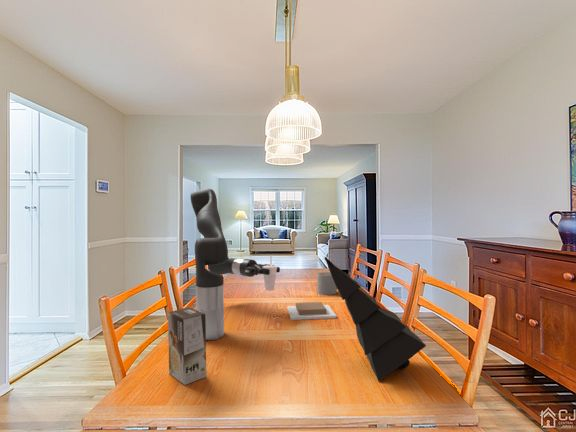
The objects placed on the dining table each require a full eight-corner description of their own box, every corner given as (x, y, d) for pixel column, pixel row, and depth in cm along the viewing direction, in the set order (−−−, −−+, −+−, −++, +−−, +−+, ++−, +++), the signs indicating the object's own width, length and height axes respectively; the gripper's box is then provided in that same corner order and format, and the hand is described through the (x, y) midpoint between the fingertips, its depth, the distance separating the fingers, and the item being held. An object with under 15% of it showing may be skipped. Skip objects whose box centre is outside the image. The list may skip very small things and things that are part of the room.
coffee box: (207, 376, 84) (207, 313, 84) (184, 386, 80) (183, 319, 80) (190, 365, 91) (189, 306, 91) (167, 373, 86) (166, 311, 86)
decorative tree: (374, 368, 95) (302, 268, 96) (417, 338, 94) (343, 238, 95) (388, 395, 80) (302, 278, 81) (438, 360, 80) (351, 243, 81)
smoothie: (275, 291, 135) (275, 257, 135) (260, 290, 137) (260, 257, 136) (279, 288, 142) (278, 255, 141) (264, 287, 143) (264, 255, 143)
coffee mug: (318, 295, 168) (318, 275, 168) (316, 290, 178) (316, 272, 178) (344, 295, 168) (344, 275, 168) (341, 290, 178) (341, 271, 178)
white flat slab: (336, 318, 131) (336, 310, 131) (291, 319, 129) (290, 312, 129) (327, 306, 146) (327, 300, 146) (287, 308, 145) (287, 301, 145)
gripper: (233, 260, 141) (263, 264, 132) (255, 257, 153) (284, 260, 143) (233, 278, 141) (263, 283, 132) (255, 273, 153) (284, 277, 143)
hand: (274, 270), depth 138 cm, fingers closed on smoothie, 6 cm apart
